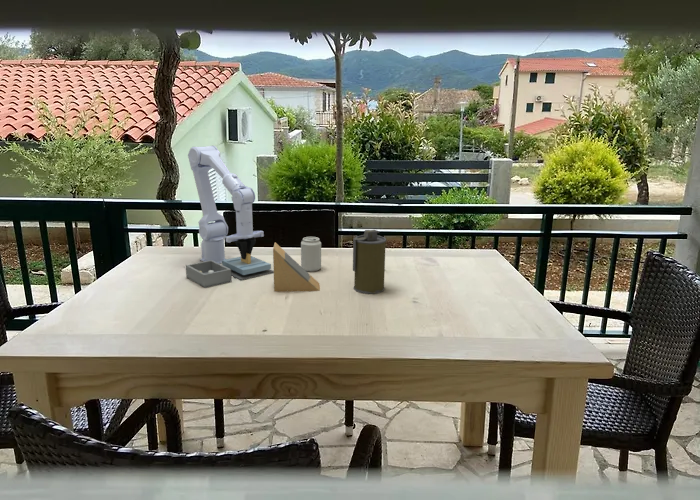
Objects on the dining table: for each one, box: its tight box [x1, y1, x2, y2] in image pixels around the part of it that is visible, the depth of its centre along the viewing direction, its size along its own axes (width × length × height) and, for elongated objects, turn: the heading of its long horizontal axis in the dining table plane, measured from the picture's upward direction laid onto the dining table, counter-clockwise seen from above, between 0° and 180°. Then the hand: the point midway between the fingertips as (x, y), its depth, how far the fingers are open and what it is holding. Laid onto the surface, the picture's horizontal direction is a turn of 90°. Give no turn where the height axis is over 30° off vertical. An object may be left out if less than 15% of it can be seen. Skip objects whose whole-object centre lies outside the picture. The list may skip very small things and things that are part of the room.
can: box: [300, 236, 322, 273], centre depth 192 cm, size 8×8×12 cm
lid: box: [221, 252, 272, 275], centre depth 189 cm, size 15×11×5 cm
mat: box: [231, 269, 274, 281], centre depth 190 cm, size 16×14×1 cm
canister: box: [352, 229, 387, 295], centre depth 172 cm, size 11×10×20 cm
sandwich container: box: [272, 242, 321, 293], centre depth 173 cm, size 9×15×15 cm, turn 95°
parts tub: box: [185, 260, 233, 289], centre depth 180 cm, size 14×10×4 cm
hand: (245, 258), depth 189 cm, fingers closed on lid
